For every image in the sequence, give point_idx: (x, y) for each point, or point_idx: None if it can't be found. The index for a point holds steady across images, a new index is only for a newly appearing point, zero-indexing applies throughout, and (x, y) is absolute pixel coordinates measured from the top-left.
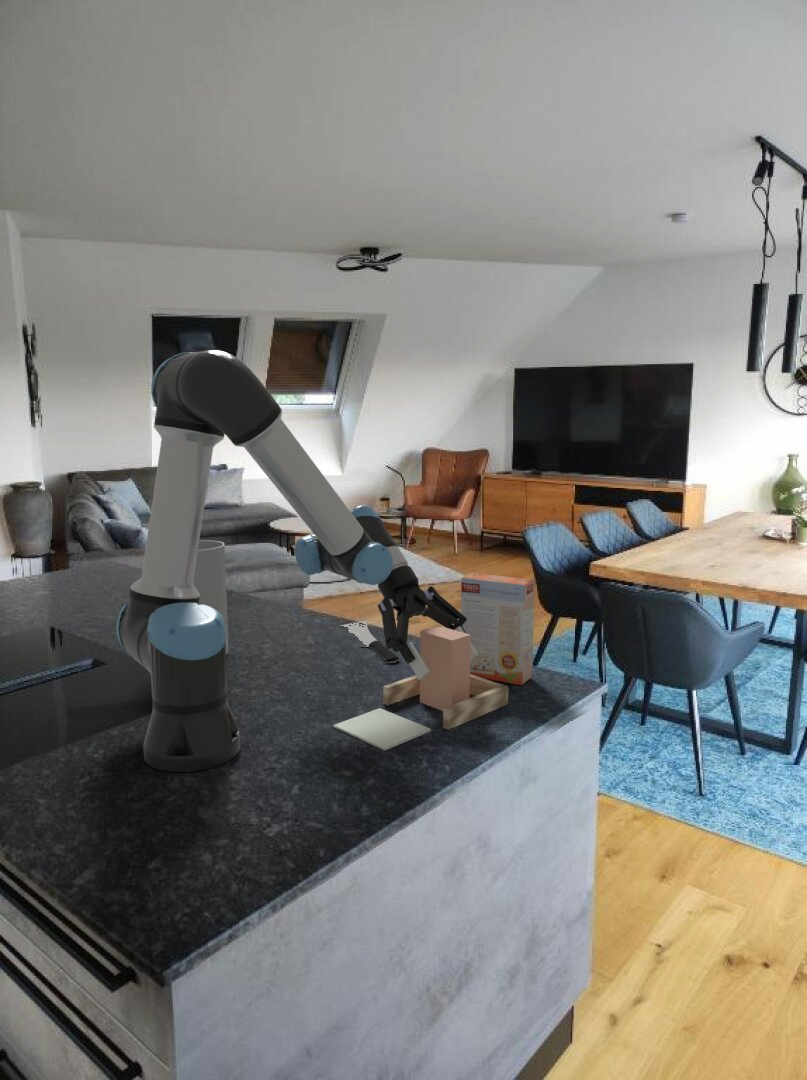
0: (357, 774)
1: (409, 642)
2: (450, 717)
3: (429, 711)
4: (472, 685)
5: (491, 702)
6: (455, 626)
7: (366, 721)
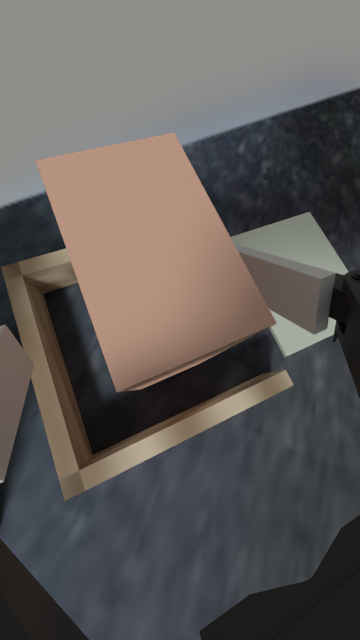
0: (349, 177)
1: (329, 274)
2: None
3: None
4: (55, 359)
5: None
6: None
7: None
